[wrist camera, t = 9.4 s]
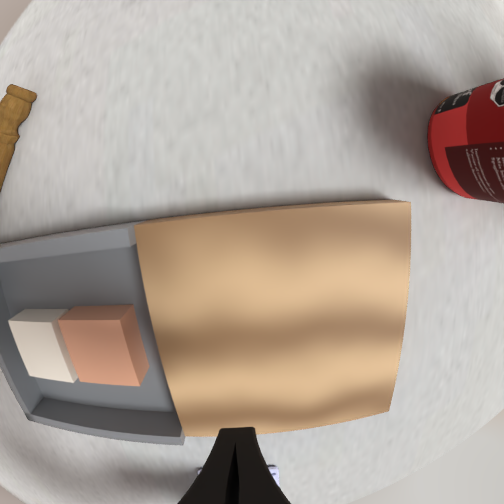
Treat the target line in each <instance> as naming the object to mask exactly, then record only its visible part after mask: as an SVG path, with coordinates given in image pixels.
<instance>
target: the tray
mask: <svg viewBox="0 0 504 504" xmlns="http://www.w3.org/2000/svg"><path fill="white" fill-rule="evenodd" d="M145 221H147V220H145ZM141 222H144V221H137V222H130V223H122V224H115V225H108V226H102V227H95V228H89V229H82V230H76V231H70V232H64V233H58V234H52V235H46V236H40V237H35V238H29V239H24V240H18V241H13V242H8V243H3V244H0V367H1V369H2V371H3V373H4V375H5V378H6V380H7V382H8V384H9V386H10V388H11V390H12V392H13V393H14V395H15V397H16V399H17V401H18V403H19V405H20V406H21V408H22V410H23V412H24V413H25V415H26V417H27V419H28V420H30V421H34V422H37V423H40V424H44V425H48V426H52V427H55V428H59V429H64V430H68V431H72V432H77V433H82V434H87V435H92V436H98V437H104V438H110V439H117V440H124V441H133V442H142V443H153V444H167V445H183V444H184V439H185V434H184V432H183V429H182V426H181V423H180V420H179V417H178V414H177V411H176V408H175V405H174V402H173V399H172V395H171V392H170V389H169V386H168V382H167V379H166V375H165V372H164V368H163V365H162V361H161V357H160V354H159V350H158V346H157V342H156V338H155V334H154V330H153V325H152V321H151V317H150V312H149V308H148V303H147V298H146V293H145V289H144V283H143V278H142V273H141V267H140V262H139V256H138V250H137V243H136V237H135V230H134V225H136V224H139V223H141ZM129 304H133V305H134V310H135V314H136V318H137V322H138V326H139V330H140V334H141V338H142V342H143V345H144V349H145V353H146V356H147V360H148V363H149V369H148V371H147V373H146V375H145V377H144V379H143V381H142V383H141V385H140V386H124V385H110V384H98V383H88V382H80V380H79V378H77V379H76V381H75V382H74V383H71V382H64V381H57V380H50V379H44V378H38V377H33V376H29V373H28V371H27V369H26V367H25V364H24V362H23V360H22V357H21V355H20V352H19V350H18V347H17V345H16V342H15V339H14V337H13V334H12V331H11V328H10V325H9V322H8V320H10V319H11V318H12V317H14V316H15V315H17V314H18V313H20V312H21V311H23V310H24V309H68V310H71V309H72V308H73V307H74V306H103V305H129Z"/></svg>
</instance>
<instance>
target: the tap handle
mask: <svg viewBox="0 0 504 504" xmlns="http://www.w3.org/2000/svg"><path fill="white" fill-rule="evenodd" d="M6 92H7V94H6V95H5V96H4V97H3V99H2V100H1V102H0V191H1V187H2V184H3V181H4V178H5V175H6V172H7V169H8V166H9V163H10V161H11V158H12V155H13V153H14V143H15V142H16V141H17V140H18V138H19V135H18V133H17V129H18V126H19V124H20V123H21V122H23V121H24V120H25V119H26V118H27V116H28V115H29V113H30V110H31V102H33V101H35V99H36V97H37V95H36V93H35V92H32V91H29V90H27V89H24V88H21V87H19V86H16V85H13V84H11V85H9V86H8V87H7V90H6Z"/></svg>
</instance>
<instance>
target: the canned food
mask: <svg viewBox="0 0 504 504" xmlns="http://www.w3.org/2000/svg"><path fill="white" fill-rule="evenodd" d="M428 148H429V153H430V157H431V160H432V163H433V166H434V168H435V170H436V172H437V174H438V176H439V177H440V179H441V180H442V182H443V183H444V184H445V185H446V186H447V187H448V188H449V189H451V190H452V191H454V192H455V193H457V194H458V195H460V196H463V197H465V198H471V199H478V200H485V201H492V202H499V203H504V79H500V80H497V81H494V82H491V83H488V84H485V85H482V86H479V87H476V88H473V89H470V90H467V91H464V92H461V93H458V94H456V95H453V96H450V97H447V98H446V99H444V100H443V101H442V102H441V103H440V104H439V105H438V106H437V107H436V109H435V110H434V111H433V113H432V116H431V118H430V122H429V126H428Z"/></svg>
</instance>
